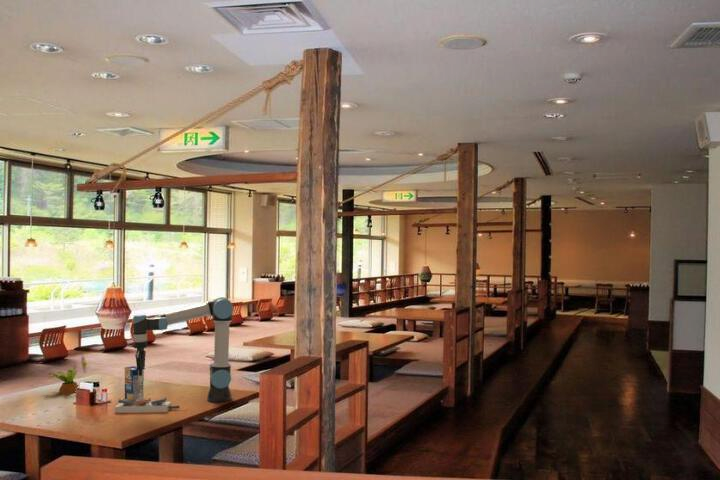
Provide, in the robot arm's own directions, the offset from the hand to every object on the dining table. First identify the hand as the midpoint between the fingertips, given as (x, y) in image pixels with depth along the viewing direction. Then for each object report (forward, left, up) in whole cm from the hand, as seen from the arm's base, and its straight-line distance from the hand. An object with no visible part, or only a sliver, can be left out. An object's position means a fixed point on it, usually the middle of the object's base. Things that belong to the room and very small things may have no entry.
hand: (141, 380), depth 399 cm
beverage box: (+10, -17, -18) cm, 26 cm away
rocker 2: (-1, +2, -12) cm, 12 cm away
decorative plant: (+66, -54, -18) cm, 87 cm away
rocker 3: (-11, +2, -12) cm, 16 cm away
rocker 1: (+8, +2, -12) cm, 14 cm away
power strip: (-4, 0, -17) cm, 18 cm away
